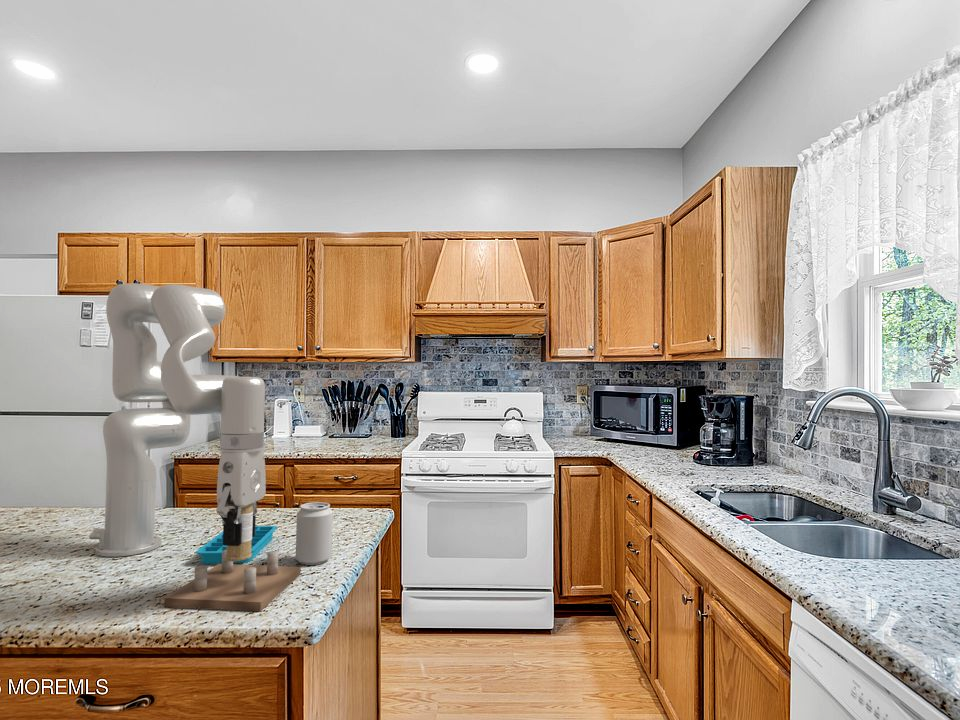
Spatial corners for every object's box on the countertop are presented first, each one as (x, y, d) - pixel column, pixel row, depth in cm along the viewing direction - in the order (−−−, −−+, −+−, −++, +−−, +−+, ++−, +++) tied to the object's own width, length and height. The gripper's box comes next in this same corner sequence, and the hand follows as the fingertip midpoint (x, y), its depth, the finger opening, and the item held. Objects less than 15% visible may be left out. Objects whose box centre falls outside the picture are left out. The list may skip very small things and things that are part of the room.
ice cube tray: (193, 567, 112) (193, 552, 112) (229, 538, 132) (229, 526, 132) (250, 566, 113) (251, 552, 113) (278, 537, 133) (278, 525, 133)
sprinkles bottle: (221, 558, 100) (223, 485, 100) (245, 552, 103) (247, 482, 104) (232, 564, 97) (234, 488, 98) (256, 557, 100) (258, 485, 101)
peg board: (164, 606, 92) (165, 574, 92) (218, 571, 109) (219, 543, 109) (260, 611, 91) (261, 578, 91) (300, 574, 108) (301, 546, 108)
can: (338, 557, 119) (339, 502, 119) (317, 568, 112) (319, 510, 112) (310, 553, 121) (311, 499, 122) (287, 563, 114) (289, 506, 115)
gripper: (238, 448, 92) (235, 556, 92) (281, 438, 109) (278, 529, 109) (196, 447, 93) (193, 555, 92) (245, 437, 110) (242, 528, 109)
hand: (239, 539), depth 100 cm, fingers closed on sprinkles bottle, 4 cm apart
